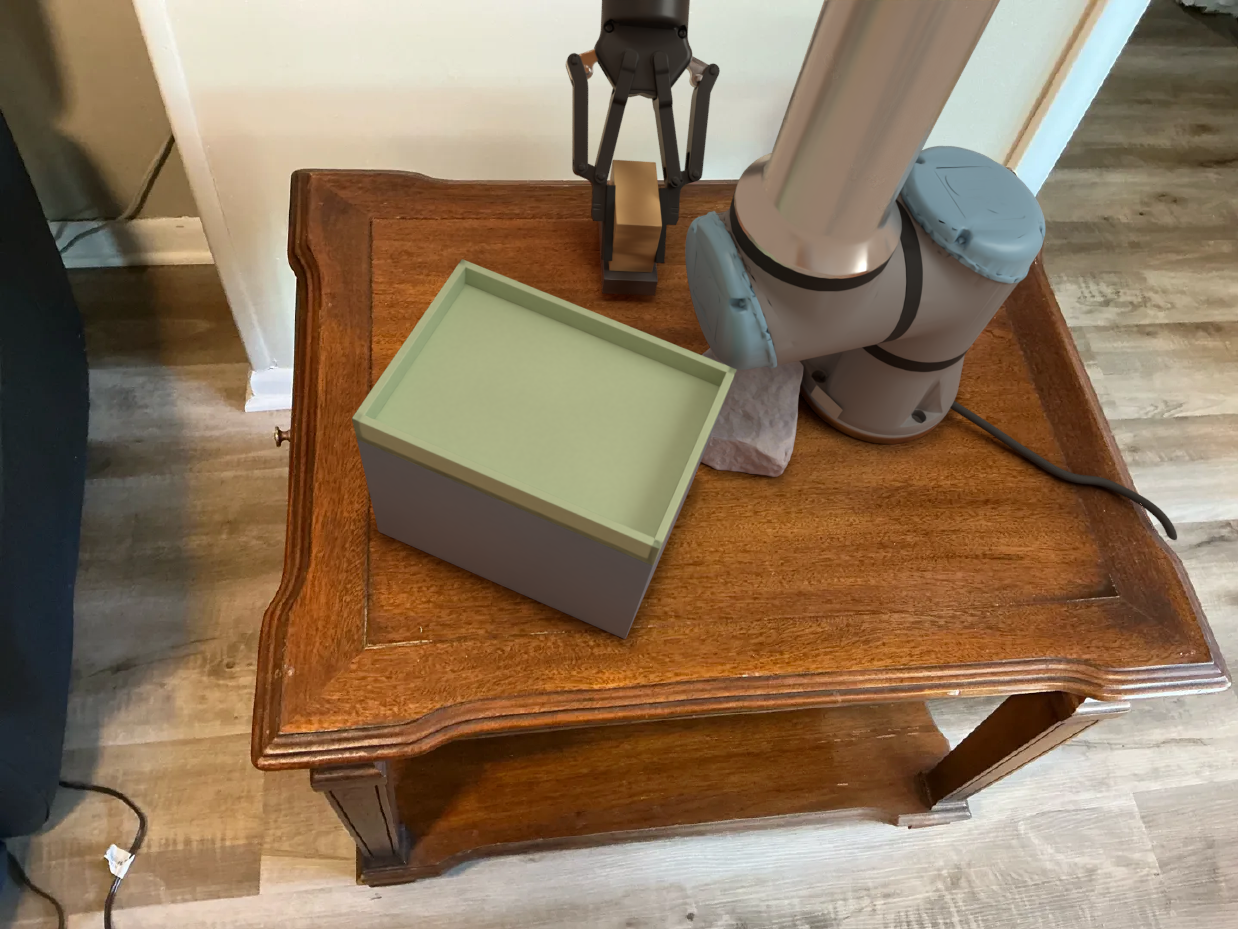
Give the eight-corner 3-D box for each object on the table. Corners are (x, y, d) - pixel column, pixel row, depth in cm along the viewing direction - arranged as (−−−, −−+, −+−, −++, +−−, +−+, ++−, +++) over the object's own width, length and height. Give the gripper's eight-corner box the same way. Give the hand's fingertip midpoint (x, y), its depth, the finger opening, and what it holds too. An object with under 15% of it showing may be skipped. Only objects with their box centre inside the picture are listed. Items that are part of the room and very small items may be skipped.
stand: (691, 483, 79) (728, 390, 67) (625, 639, 71) (653, 566, 59) (466, 389, 81) (462, 282, 69) (378, 531, 73) (356, 439, 61)
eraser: (648, 217, 92) (660, 154, 85) (654, 295, 87) (668, 234, 80) (598, 215, 92) (606, 151, 85) (601, 293, 87) (611, 231, 80)
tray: (728, 390, 67) (737, 369, 65) (653, 566, 59) (659, 549, 57) (462, 282, 69) (461, 258, 66) (356, 439, 61) (351, 418, 59)
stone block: (675, 471, 81) (790, 485, 79) (674, 439, 77) (795, 452, 76) (694, 368, 88) (801, 378, 86) (694, 333, 84) (806, 343, 82)
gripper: (734, -2, 84) (715, 263, 89) (544, -18, 81) (536, 255, 87) (756, -23, 76) (733, 267, 82) (548, -41, 74) (539, 258, 80)
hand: (632, 260), depth 85 cm, fingers closed on eraser, 4 cm apart
